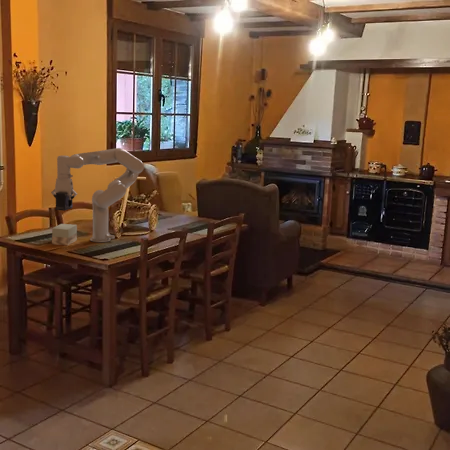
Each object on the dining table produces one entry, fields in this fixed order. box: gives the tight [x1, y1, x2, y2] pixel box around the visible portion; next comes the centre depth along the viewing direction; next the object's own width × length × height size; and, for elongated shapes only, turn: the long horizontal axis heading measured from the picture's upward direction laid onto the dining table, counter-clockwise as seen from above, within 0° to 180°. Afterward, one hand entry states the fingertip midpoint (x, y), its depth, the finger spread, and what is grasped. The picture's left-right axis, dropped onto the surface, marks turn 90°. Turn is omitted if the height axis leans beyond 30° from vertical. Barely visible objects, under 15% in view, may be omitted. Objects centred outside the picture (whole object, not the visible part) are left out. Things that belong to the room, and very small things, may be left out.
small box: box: [55, 192, 73, 212], centre depth 358 cm, size 11×6×10 cm, turn 169°
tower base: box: [51, 232, 78, 246], centre depth 362 cm, size 10×14×5 cm
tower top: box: [51, 223, 78, 238], centre depth 362 cm, size 10×14×5 cm
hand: (64, 205), depth 358 cm, fingers closed on small box, 6 cm apart
